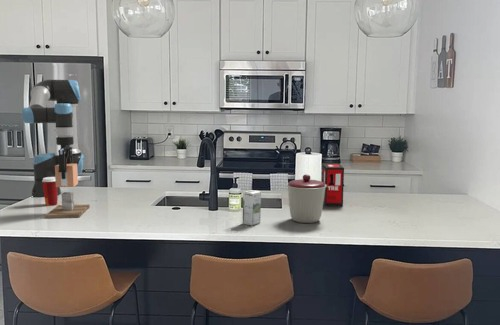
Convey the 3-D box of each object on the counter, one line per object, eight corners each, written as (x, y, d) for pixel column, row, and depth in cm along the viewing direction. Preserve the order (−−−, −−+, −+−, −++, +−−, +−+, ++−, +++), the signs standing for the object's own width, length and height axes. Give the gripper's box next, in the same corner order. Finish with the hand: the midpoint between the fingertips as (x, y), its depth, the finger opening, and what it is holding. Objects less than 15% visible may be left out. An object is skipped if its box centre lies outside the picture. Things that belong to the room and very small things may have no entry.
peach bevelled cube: (61, 184, 222) (59, 163, 221) (78, 183, 223) (77, 163, 221) (55, 187, 214) (54, 166, 213) (73, 186, 215) (72, 165, 214)
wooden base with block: (58, 207, 229) (57, 189, 228) (89, 207, 231) (88, 188, 230) (45, 218, 210) (44, 197, 208) (79, 217, 211) (78, 197, 210)
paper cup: (62, 203, 240) (60, 176, 238) (54, 206, 233) (53, 179, 231) (48, 202, 241) (46, 176, 239) (40, 206, 233) (38, 179, 231)
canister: (284, 225, 200) (285, 177, 197) (286, 214, 218) (287, 170, 215) (326, 226, 198) (327, 178, 195) (325, 216, 215) (326, 171, 212)
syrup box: (250, 221, 206) (250, 189, 204) (260, 223, 202) (261, 191, 200) (242, 223, 202) (242, 191, 200) (252, 226, 198) (252, 193, 196)
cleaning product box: (321, 199, 252) (322, 163, 249) (337, 199, 252) (338, 163, 249) (325, 206, 235) (326, 167, 233) (342, 206, 235) (344, 167, 233)
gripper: (62, 134, 225) (65, 180, 228) (49, 138, 205) (52, 188, 208) (78, 134, 226) (80, 180, 229) (66, 138, 205) (69, 187, 208)
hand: (67, 184), depth 218 cm, fingers closed on peach bevelled cube, 8 cm apart
